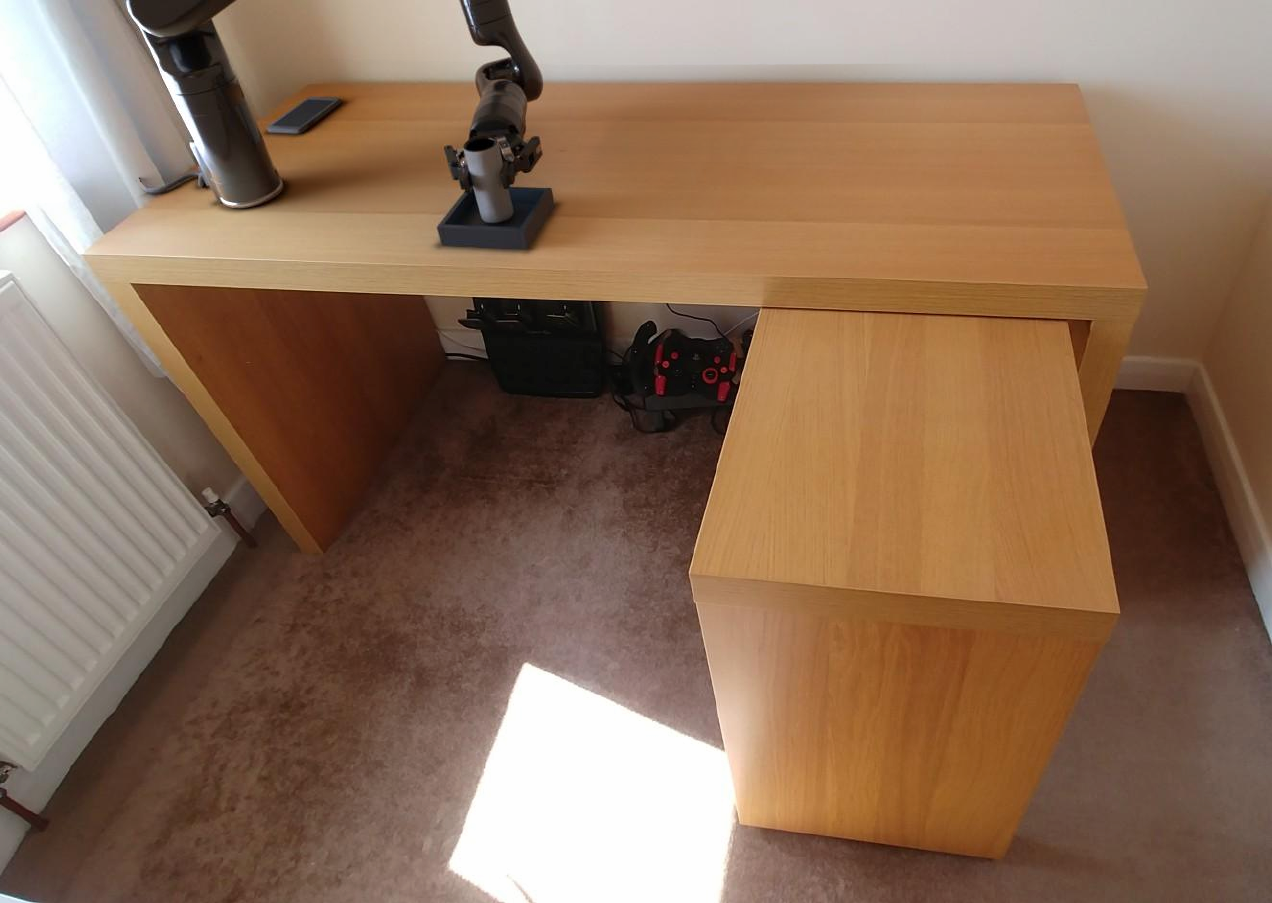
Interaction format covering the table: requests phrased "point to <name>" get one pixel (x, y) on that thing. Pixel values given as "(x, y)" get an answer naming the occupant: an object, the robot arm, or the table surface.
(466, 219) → the tray
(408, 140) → the table surface
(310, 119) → the cell phone
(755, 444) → the table surface
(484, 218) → the grey hollow cylinder
